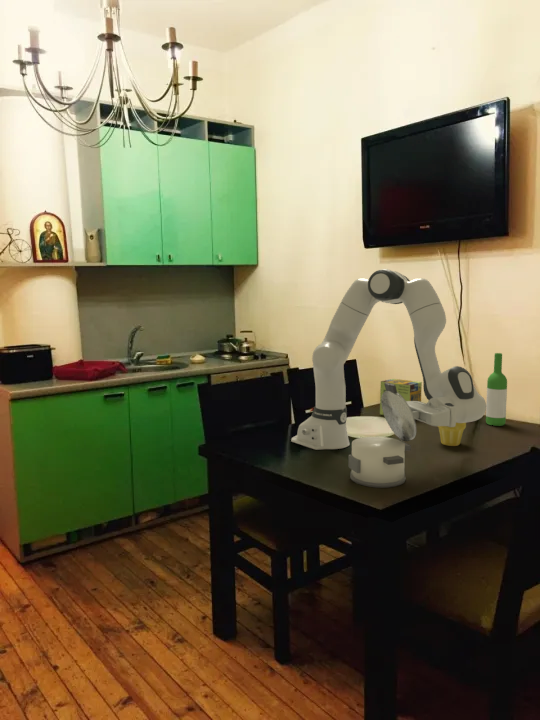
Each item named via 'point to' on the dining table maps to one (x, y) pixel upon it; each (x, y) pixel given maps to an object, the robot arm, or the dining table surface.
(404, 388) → the protein box
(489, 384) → the wine bottle
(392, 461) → the cooker
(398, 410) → the lid
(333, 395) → the robot arm
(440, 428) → the plant pot
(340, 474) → the dining table surface
